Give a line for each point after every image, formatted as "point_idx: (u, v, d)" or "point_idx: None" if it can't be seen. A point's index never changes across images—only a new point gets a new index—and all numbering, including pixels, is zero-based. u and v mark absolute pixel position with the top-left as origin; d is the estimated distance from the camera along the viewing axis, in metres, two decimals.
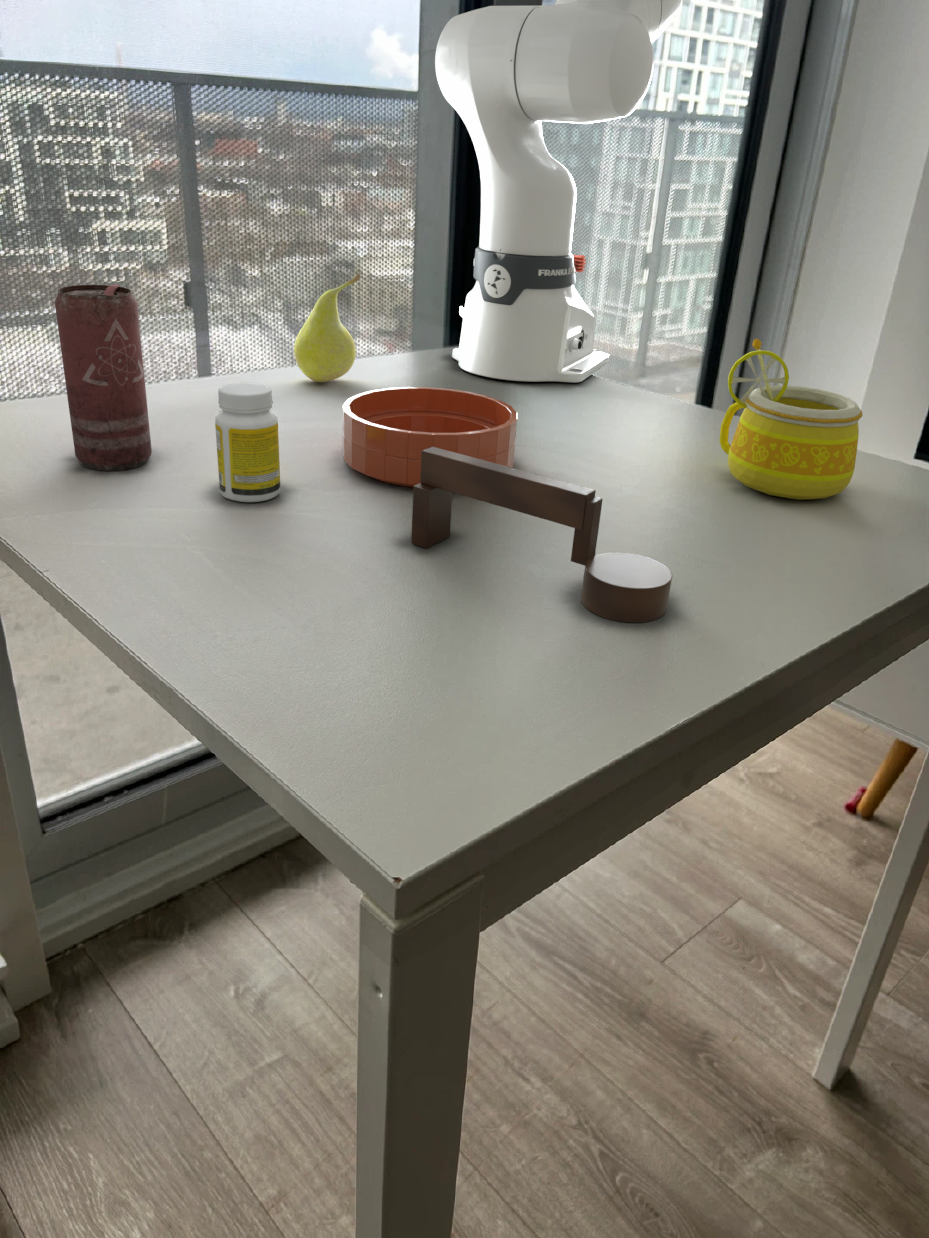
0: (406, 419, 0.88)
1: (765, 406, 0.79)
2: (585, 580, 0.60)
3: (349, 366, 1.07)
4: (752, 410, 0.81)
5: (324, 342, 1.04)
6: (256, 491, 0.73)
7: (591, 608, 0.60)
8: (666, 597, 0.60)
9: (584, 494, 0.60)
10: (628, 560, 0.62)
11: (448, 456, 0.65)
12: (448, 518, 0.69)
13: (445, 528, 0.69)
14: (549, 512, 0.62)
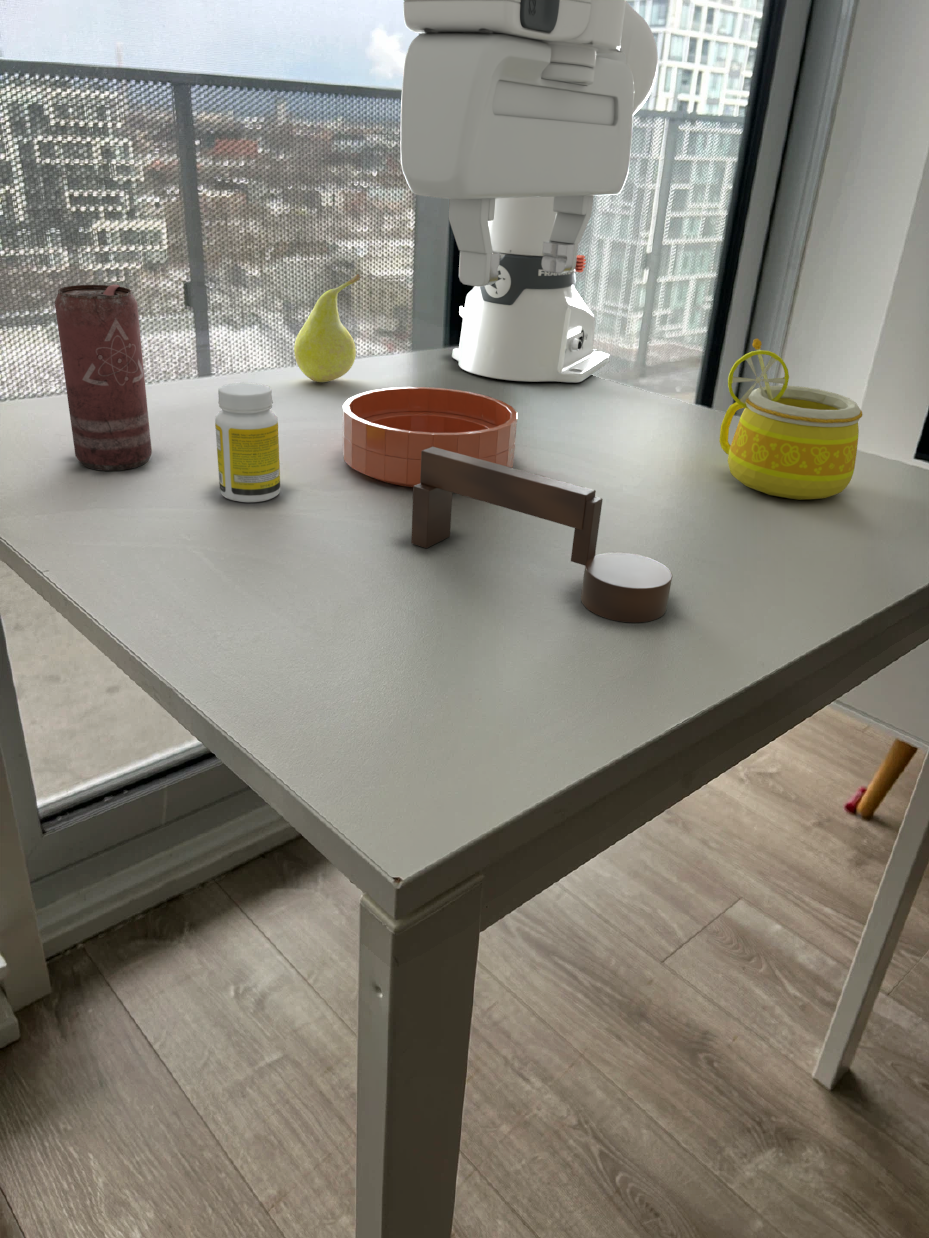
0: (406, 419, 0.88)
1: (765, 406, 0.79)
2: (585, 580, 0.60)
3: (349, 366, 1.07)
4: (752, 410, 0.81)
5: (324, 342, 1.04)
6: (256, 491, 0.73)
7: (591, 608, 0.60)
8: (666, 597, 0.60)
9: (584, 494, 0.60)
10: (628, 560, 0.62)
11: (448, 456, 0.65)
12: (448, 518, 0.69)
13: (445, 528, 0.69)
14: (549, 512, 0.62)
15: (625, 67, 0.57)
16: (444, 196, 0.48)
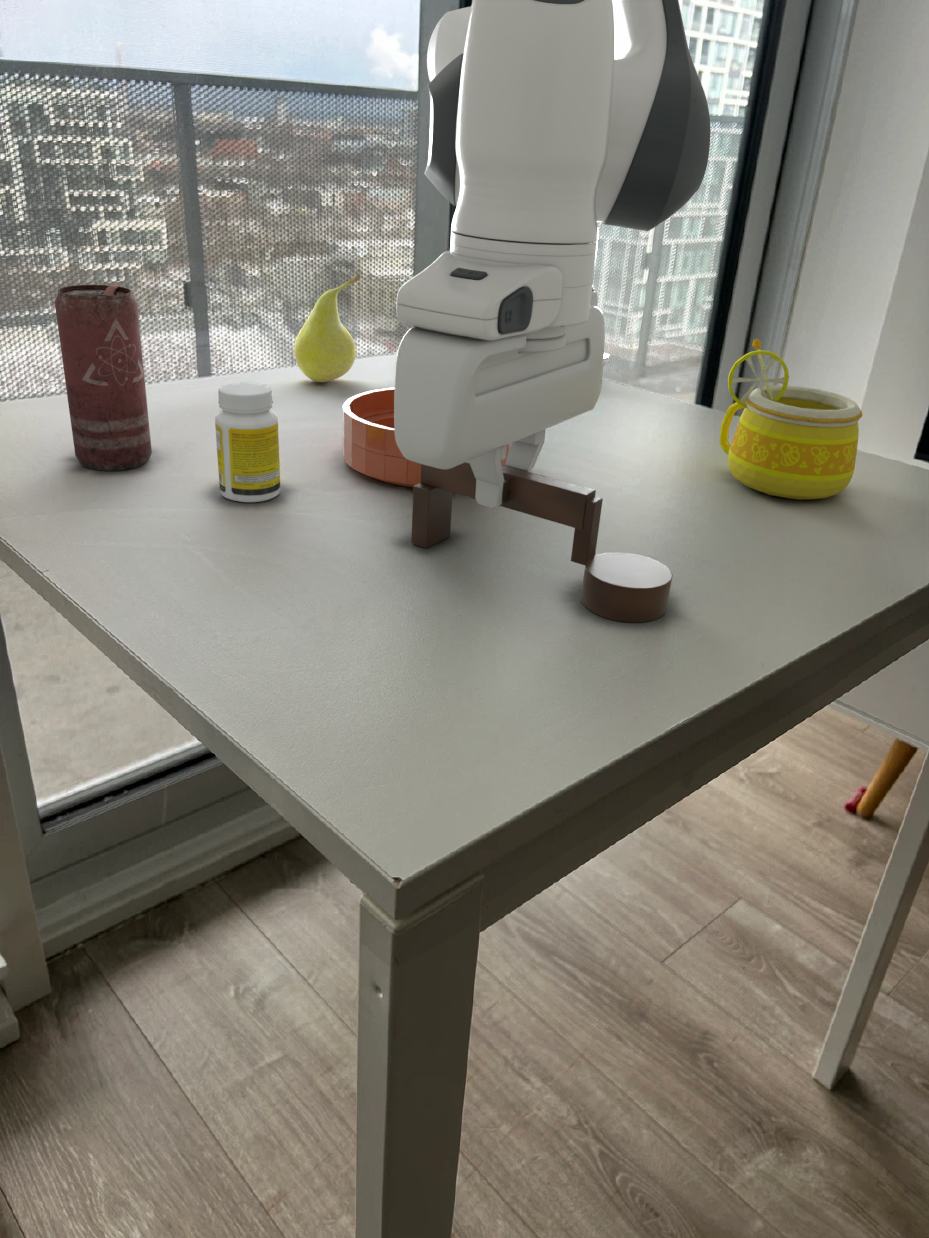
0: None
1: (765, 406, 0.79)
2: (585, 580, 0.60)
3: (349, 366, 1.07)
4: (752, 410, 0.81)
5: (324, 342, 1.04)
6: (256, 491, 0.73)
7: (591, 608, 0.60)
8: (666, 597, 0.60)
9: (585, 494, 0.60)
10: (628, 560, 0.62)
11: None
12: (448, 518, 0.69)
13: (445, 528, 0.69)
14: (549, 512, 0.62)
15: (596, 312, 0.63)
16: (432, 466, 0.55)
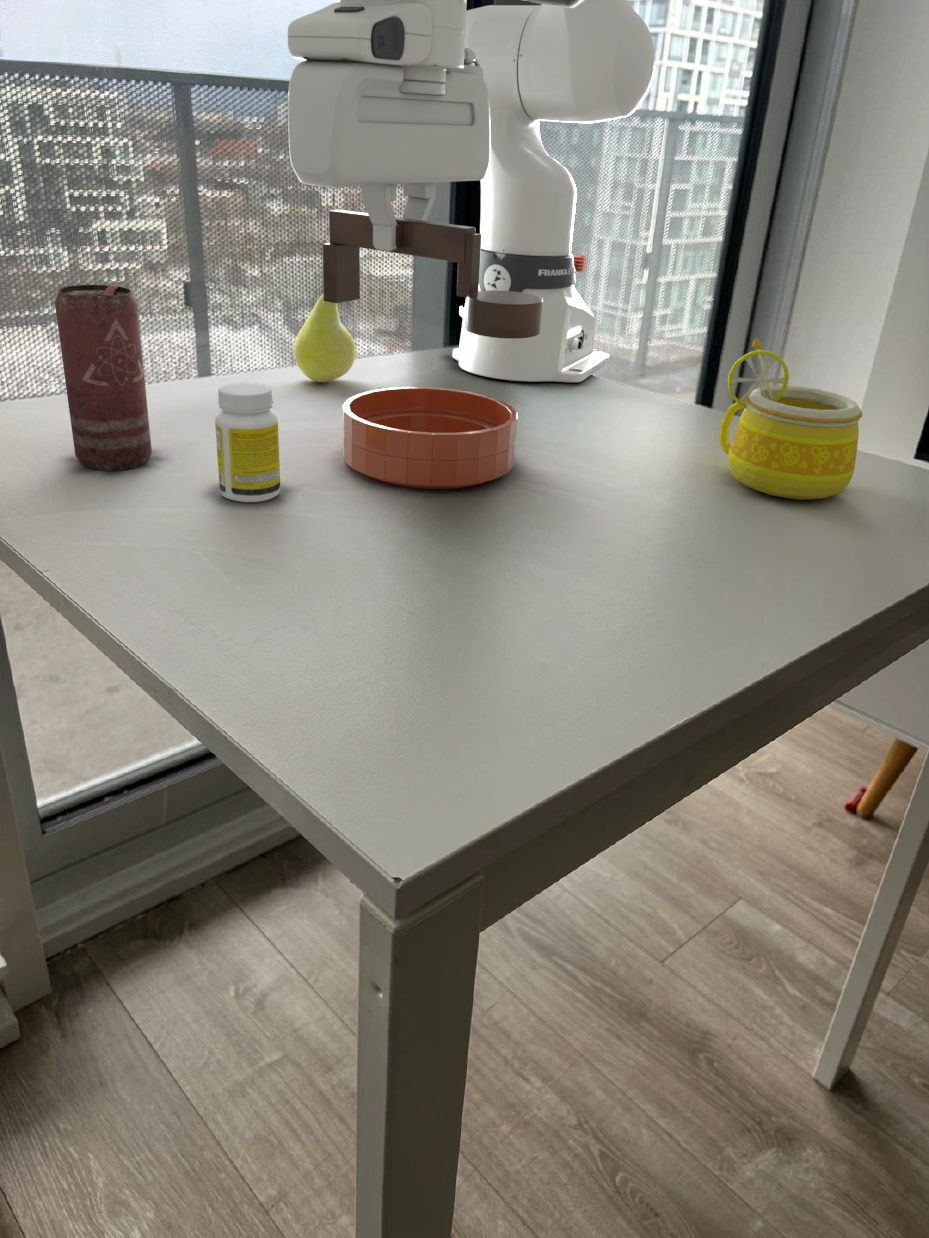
0: (406, 419, 0.88)
1: (765, 406, 0.79)
2: (467, 306, 0.69)
3: (349, 366, 1.07)
4: (752, 410, 0.81)
5: (324, 342, 1.04)
6: (256, 491, 0.73)
7: (472, 329, 0.69)
8: (537, 318, 0.69)
9: (464, 228, 0.68)
10: (506, 294, 0.70)
11: (351, 213, 0.73)
12: (357, 280, 0.77)
13: (354, 288, 0.77)
14: (436, 251, 0.70)
15: (478, 79, 0.72)
16: (323, 185, 0.63)
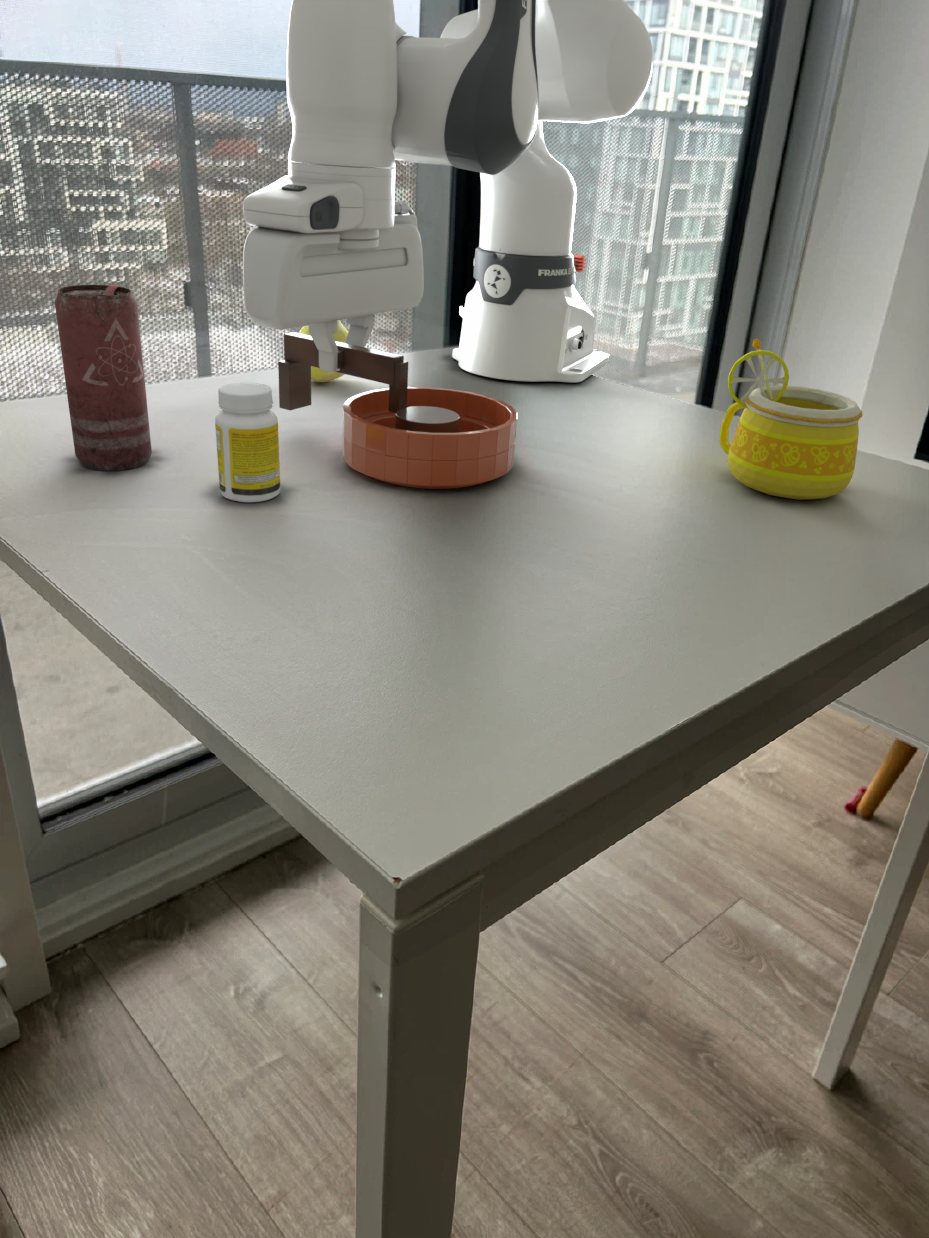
0: None
1: (765, 406, 0.79)
2: (395, 422, 0.82)
3: None
4: (752, 410, 0.81)
5: None
6: (256, 491, 0.73)
7: None
8: None
9: (393, 357, 0.81)
10: (430, 410, 0.83)
11: (302, 337, 0.86)
12: (308, 389, 0.90)
13: (306, 397, 0.90)
14: (371, 373, 0.83)
15: (410, 228, 0.85)
16: (271, 327, 0.76)
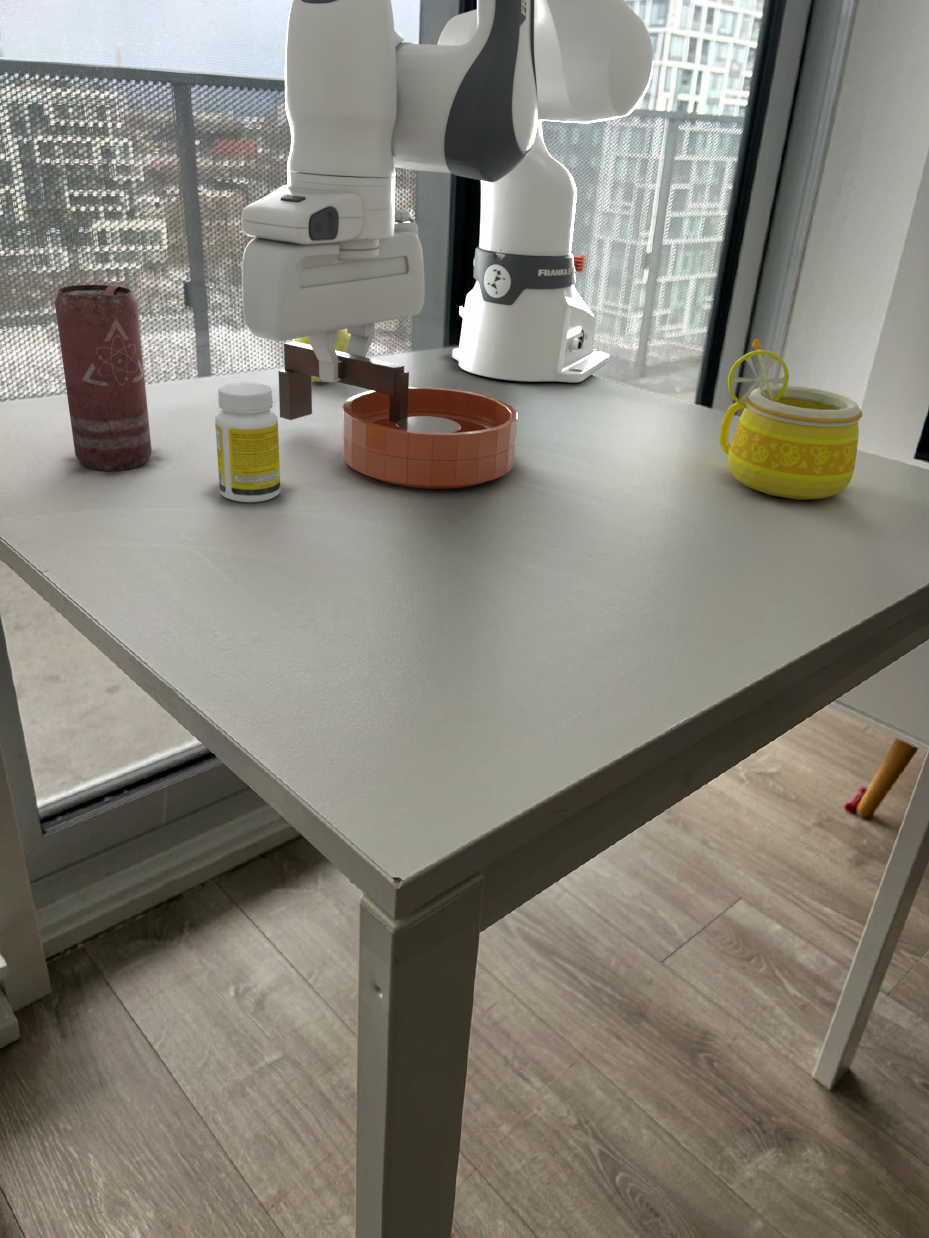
0: None
1: (765, 406, 0.79)
2: None
3: None
4: (752, 410, 0.81)
5: None
6: (256, 491, 0.73)
7: None
8: None
9: (394, 368, 0.81)
10: (431, 420, 0.83)
11: (302, 346, 0.86)
12: (309, 399, 0.90)
13: (306, 406, 0.90)
14: (372, 384, 0.82)
15: (411, 236, 0.84)
16: (270, 339, 0.75)
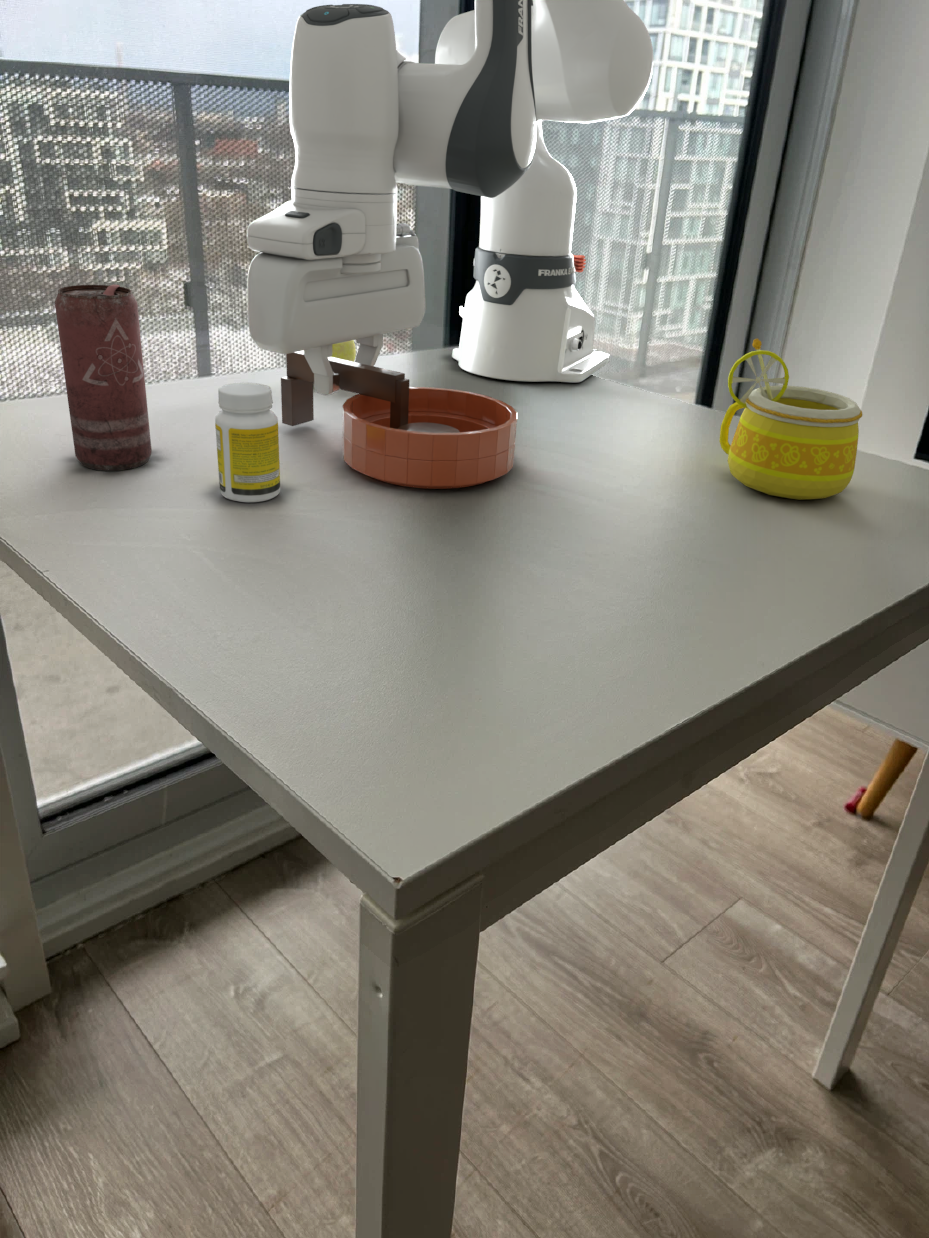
0: None
1: (765, 406, 0.79)
2: None
3: None
4: (752, 410, 0.81)
5: None
6: (256, 491, 0.73)
7: None
8: None
9: (394, 375, 0.82)
10: (431, 427, 0.84)
11: None
12: (311, 405, 0.91)
13: (308, 412, 0.91)
14: (373, 391, 0.84)
15: (412, 250, 0.86)
16: None
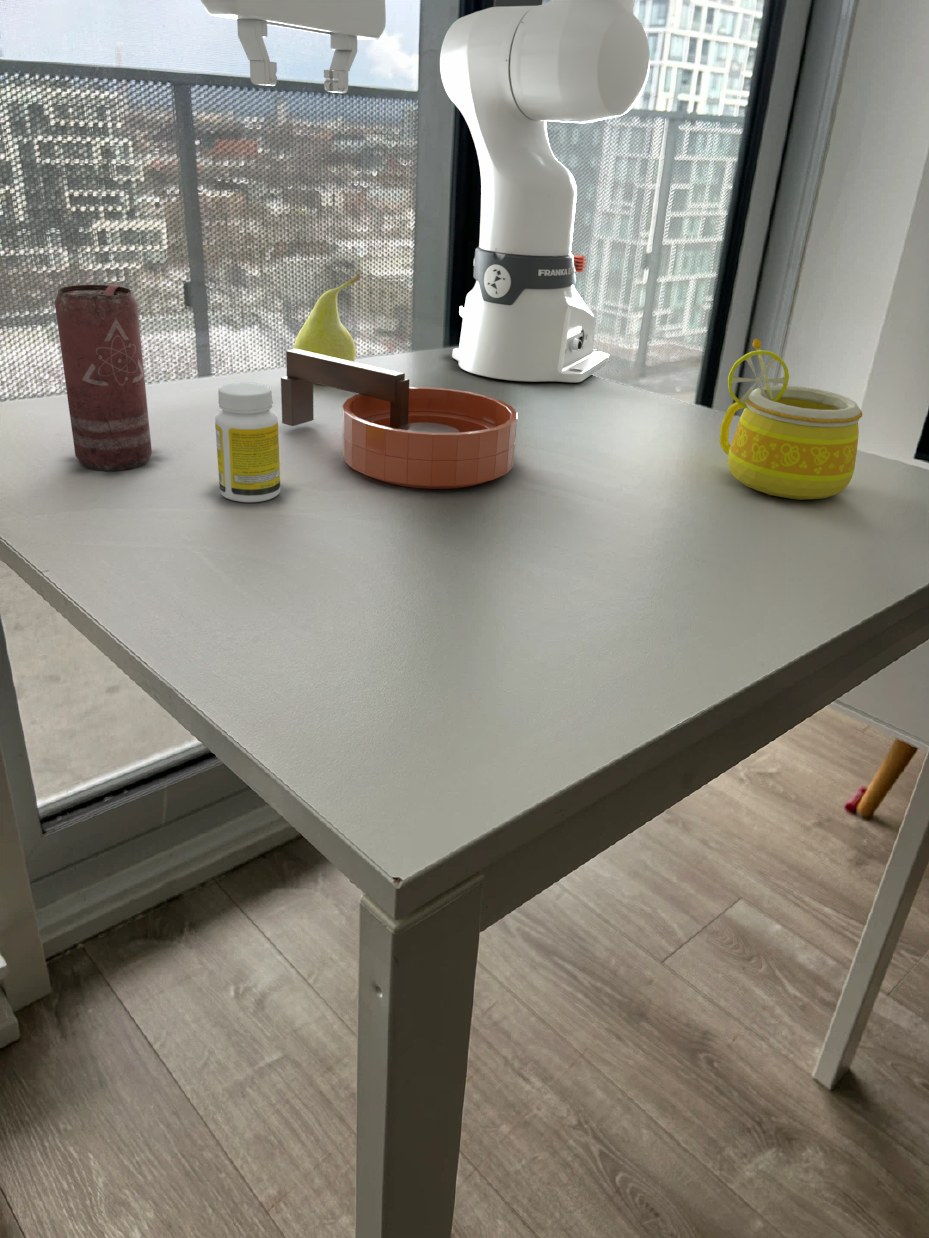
0: None
1: (765, 406, 0.79)
2: None
3: None
4: (752, 410, 0.81)
5: (324, 342, 1.04)
6: (256, 491, 0.73)
7: None
8: None
9: (394, 375, 0.82)
10: (431, 427, 0.84)
11: (304, 354, 0.87)
12: (311, 405, 0.91)
13: (308, 412, 0.91)
14: (373, 391, 0.84)
15: None
16: (225, 13, 0.75)
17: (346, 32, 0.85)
